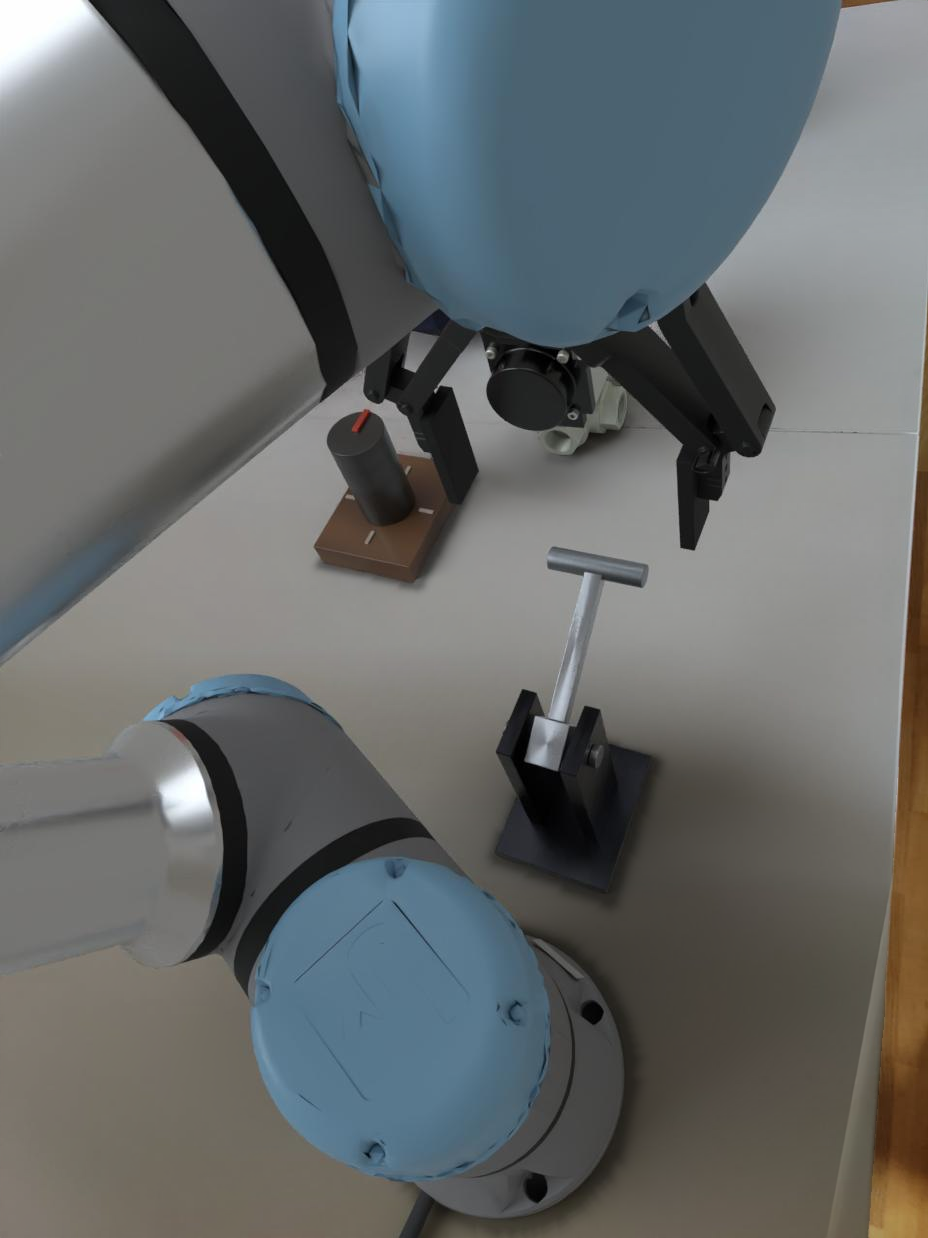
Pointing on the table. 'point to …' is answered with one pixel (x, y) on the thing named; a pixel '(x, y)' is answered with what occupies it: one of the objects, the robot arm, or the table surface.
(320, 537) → the dial panel
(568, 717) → the tap lever
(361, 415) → the dial knob
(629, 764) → the tap bracket
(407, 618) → the table surface
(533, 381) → the ball valve
